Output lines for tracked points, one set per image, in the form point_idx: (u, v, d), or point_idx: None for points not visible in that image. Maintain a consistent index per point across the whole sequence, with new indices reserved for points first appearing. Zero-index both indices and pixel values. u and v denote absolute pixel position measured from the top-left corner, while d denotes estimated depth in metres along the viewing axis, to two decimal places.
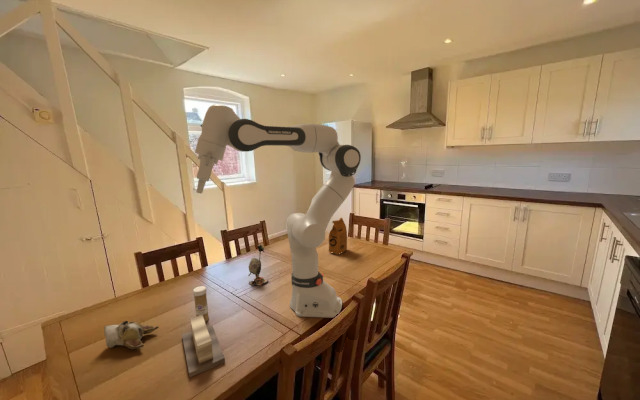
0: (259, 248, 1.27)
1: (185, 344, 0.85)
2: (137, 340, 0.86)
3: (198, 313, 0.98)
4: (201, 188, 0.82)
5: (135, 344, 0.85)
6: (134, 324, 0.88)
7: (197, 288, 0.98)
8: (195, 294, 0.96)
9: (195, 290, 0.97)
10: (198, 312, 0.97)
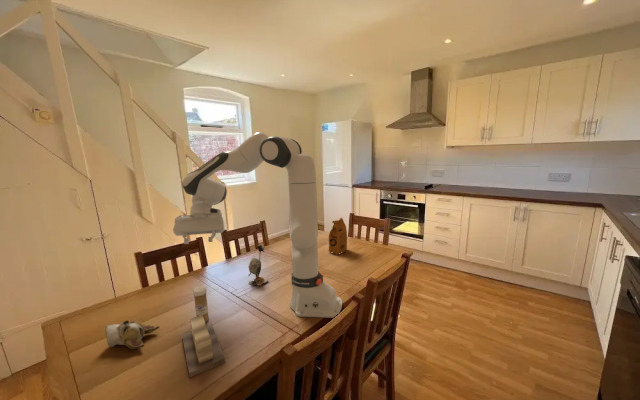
0: (259, 248, 1.27)
1: (185, 344, 0.85)
2: (138, 340, 0.86)
3: (198, 313, 0.98)
4: (184, 239, 1.06)
5: (136, 344, 0.86)
6: (135, 324, 0.88)
7: (197, 288, 0.98)
8: (195, 294, 0.96)
9: (195, 290, 0.97)
10: (198, 312, 0.97)
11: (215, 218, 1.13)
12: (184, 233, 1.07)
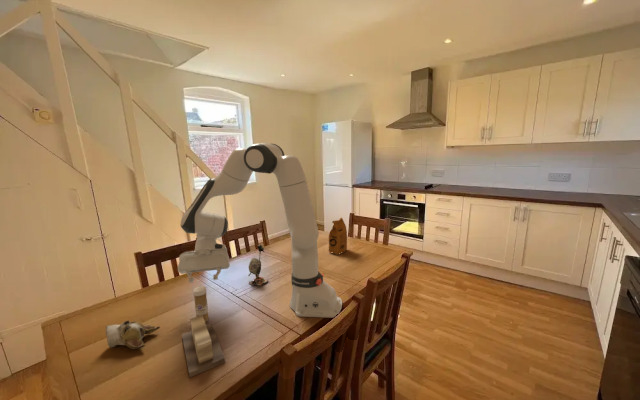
0: (259, 248, 1.27)
1: (185, 344, 0.85)
2: (138, 340, 0.86)
3: (198, 313, 0.98)
4: (189, 278, 1.04)
5: (136, 344, 0.85)
6: (135, 324, 0.88)
7: (197, 288, 0.98)
8: (195, 294, 0.96)
9: (195, 290, 0.97)
10: (198, 312, 0.97)
11: (220, 254, 1.11)
12: (189, 271, 1.05)
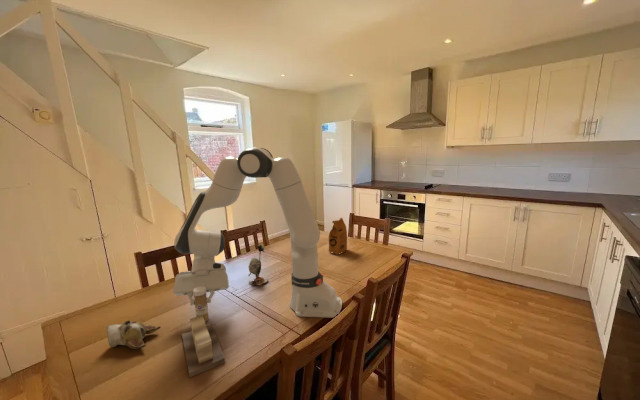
0: (259, 248, 1.27)
1: (185, 344, 0.85)
2: (139, 340, 0.86)
3: (198, 313, 0.98)
4: None
5: (137, 344, 0.86)
6: (136, 324, 0.88)
7: (197, 288, 0.98)
8: (195, 294, 0.96)
9: (195, 290, 0.97)
10: (198, 312, 0.97)
11: (218, 274, 1.04)
12: (190, 293, 0.99)
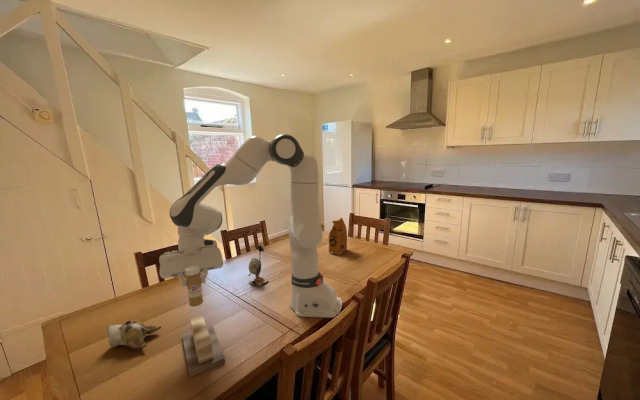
0: (259, 248, 1.27)
1: (185, 344, 0.85)
2: (140, 340, 0.86)
3: (192, 295, 0.86)
4: (181, 281, 0.86)
5: (138, 344, 0.85)
6: (137, 324, 0.88)
7: (189, 267, 0.87)
8: (188, 273, 0.85)
9: (188, 269, 0.86)
10: (192, 294, 0.86)
11: (211, 251, 0.94)
12: (181, 274, 0.87)
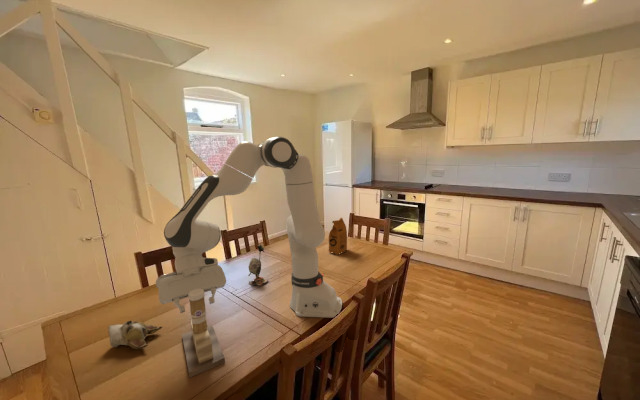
0: (259, 248, 1.27)
1: (185, 344, 0.85)
2: (141, 340, 0.86)
3: (196, 321, 0.81)
4: (178, 307, 0.80)
5: (139, 344, 0.85)
6: (138, 324, 0.88)
7: (193, 291, 0.81)
8: (193, 298, 0.79)
9: (192, 294, 0.80)
10: (197, 320, 0.81)
11: (212, 270, 0.89)
12: (177, 299, 0.80)
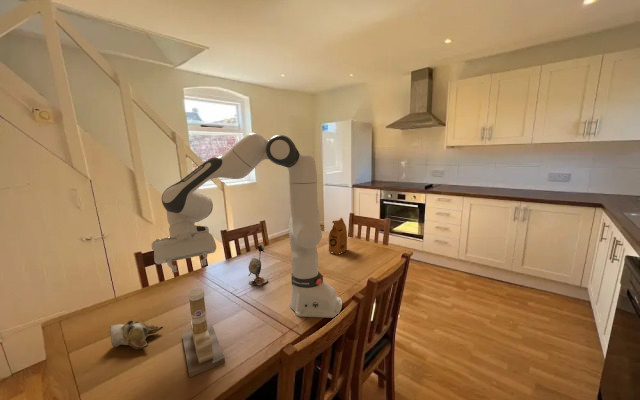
0: (259, 248, 1.27)
1: (185, 344, 0.85)
2: (142, 340, 0.86)
3: (196, 321, 0.81)
4: (171, 267, 0.88)
5: (140, 344, 0.85)
6: (139, 324, 0.88)
7: (193, 291, 0.81)
8: (193, 298, 0.79)
9: (192, 294, 0.80)
10: (197, 320, 0.81)
11: (204, 237, 0.97)
12: (169, 260, 0.88)
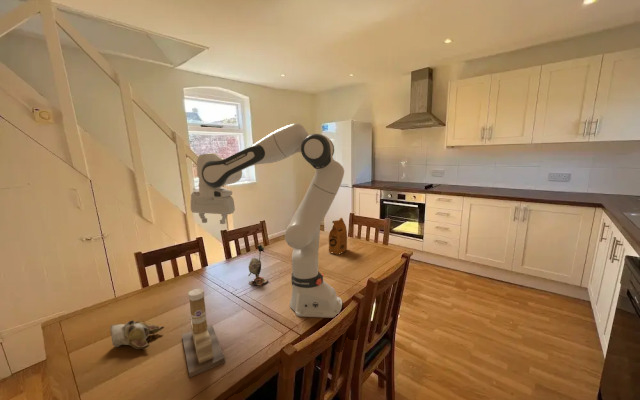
0: (259, 248, 1.27)
1: (185, 344, 0.85)
2: (143, 340, 0.86)
3: (196, 321, 0.81)
4: None
5: (141, 344, 0.85)
6: (140, 324, 0.88)
7: (193, 291, 0.81)
8: (193, 298, 0.79)
9: (192, 294, 0.80)
10: (197, 320, 0.81)
11: (221, 201, 1.05)
12: (200, 213, 1.11)
